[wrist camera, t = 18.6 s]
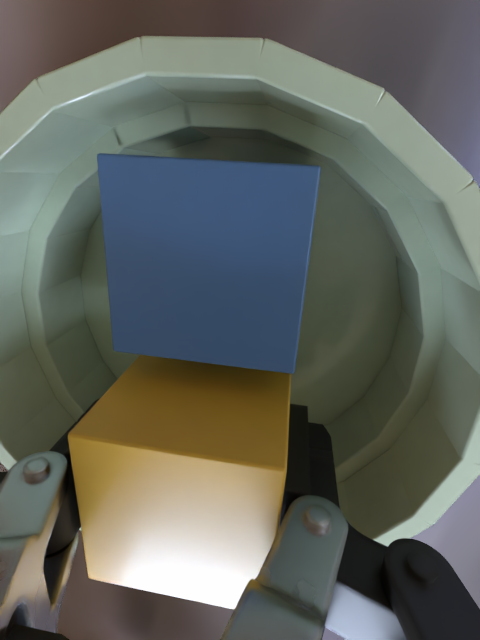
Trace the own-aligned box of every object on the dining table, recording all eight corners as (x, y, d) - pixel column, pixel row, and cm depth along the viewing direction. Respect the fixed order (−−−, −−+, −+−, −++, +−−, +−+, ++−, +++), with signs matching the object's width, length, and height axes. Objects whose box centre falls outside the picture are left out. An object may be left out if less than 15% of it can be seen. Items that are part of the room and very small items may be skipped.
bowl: (40, 92, 12) (-150, 29, 7) (483, 109, 10) (662, 42, 5) (83, 429, 17) (-8, 535, 12) (383, 477, 15) (424, 623, 10)
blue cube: (169, 162, 12) (95, 153, 7) (313, 170, 11) (321, 165, 7) (171, 297, 13) (112, 351, 9) (296, 310, 13) (294, 375, 9)
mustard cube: (150, 342, 12) (65, 434, 7) (291, 360, 11) (287, 469, 7) (154, 453, 13) (87, 579, 9) (277, 473, 13) (266, 617, 9)
